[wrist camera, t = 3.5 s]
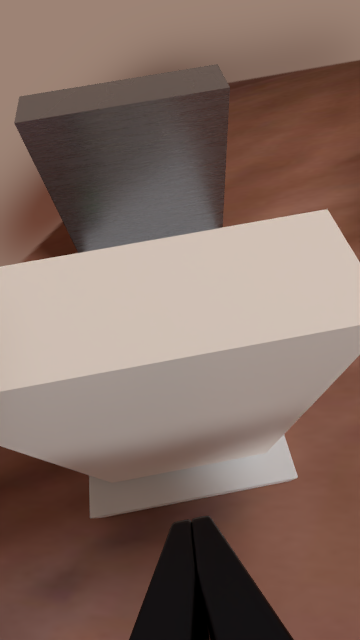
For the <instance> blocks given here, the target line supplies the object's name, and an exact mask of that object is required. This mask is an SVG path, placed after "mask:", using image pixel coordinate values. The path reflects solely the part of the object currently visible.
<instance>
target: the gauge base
mask: <svg viewBox="0 0 360 640" xmlns="http://www.w3.org/2000/svg"><path fill="white" fill-rule="evenodd" d="M296 478H298V476H297V473H296V470H295V467H294V464H293V461H292V458H291V455H290V452H289V448H288V445H287V442H286V439H285V436H284V435H283V436H282V437H281V438H280V439H279V440H278V441H277V442H276V443H275V444H274V445H273V446H272V447H271V448H270V449H269V451H268V452H267V453H264V454H259V455H254V456H249V457H244V458H239V459H233V460H228V461H223V462H218V463H213V464H207V465H202V466H197V467H192V468H187V469H182V470H176V471H171V472H166V473H161V474H156V475H151V476H145V477H140V478H135V479H130V480H125V481H119V482H114V483H111V482H108V481H105V480H102V479H98V478H95V477H92V476H89V502H90V518H103V517H108V516H114V515H119V514H124V513H129V512H134V511H139V510H144V509H149V508H154V507H160V506H165V505H170V504H175V503H180V502H185V501H190V500H195V499H200V498H206V497H211V496H216V495H221V494H226V493H231V492H236V491H241V490H246V489H252V488H257V487H262V486H267V485H272V484H277V483H282V482H287V481H291V480H293V479H296Z"/></svg>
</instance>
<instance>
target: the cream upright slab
mask: <svg viewBox="0 0 360 640" xmlns="http://www.w3.org/2000/svg"><path fill="white" fill-rule="evenodd" d="M359 355H360V262H359V261H358V259H357V257H356V256H355V254H354V252H353V251H352V249H351V247H350V246H349V244H348V242H347V241H346V239H345V238H344V236H343V234H342V233H341V231H340V229H339V228H338V226H337V224H336V223H335V221H334V219H333V218H332V216H331V215H330V213H329V211H328V210H327V209H326V210H320V211H315V212H309V213H303V214H297V215H292V216H286V217H280V218H275V219H269V220H263V221H258V222H252V223H246V224H241V225H235V226H229V227H223V228H218V229H212V230H206V231H201V232H195V233H189V234H184V235H178V236H172V237H167V238H161V239H155V240H149V241H144V242H138V243H132V244H127V245H121V246H115V247H110V248H104V249H98V250H93V251H87V252H81V253H75V254H70V255H64V256H58V257H53V258H47V259H41V260H36V261H30V262H24V263H19V264H13V265H7V266H2V267H0V446H1V447H4V448H7V449H10V450H13V451H17V452H20V453H23V454H26V455H29V456H32V457H35V458H38V459H41V460H44V461H47V462H50V463H53V464H56V465H59V466H62V467H65V468H68V469H71V470H74V471H77V472H80V473H83V474H86V475H89V476H92V477H95V478H98V479H102V480H105V481H108V482H111V483H114V482H119V481H125V480H130V479H135V478H140V477H145V476H151V475H156V474H161V473H166V472H171V471H176V470H182V469H187V468H192V467H197V466H202V465H207V464H213V463H218V462H223V461H228V460H233V459H239V458H244V457H249V456H254V455H259V454H264V453H267V452H268V451H269V449H270V448H271V447H272V446H273V445H274V444H275V443H276V442H277V441H278V440H279V439H280V438H281V437H282V436H283V435H284V434H285V433H286V432H287V431H288V430H289V428H290V427H291V426H292V425H293V424H294V423H295V422H296V421H297V420H298V419H299V418H300V417H301V416H302V415H303V414H304V413H305V412H306V411H307V410H308V409H309V407H310V406H311V405H312V404H313V403H314V402H315V401H316V400H317V399H318V398H319V397H320V396H321V395H322V394H323V393H324V392H325V391H326V390H327V389H328V388H329V386H330V385H331V384H332V383H333V382H334V381H335V380H336V379H337V378H338V377H339V376H340V375H341V374H342V373H343V372H344V371H345V370H346V369H347V368H348V367H349V365H350V364H351V363H352V362H353V361H354V360H355V359H356V358H357V357H358V356H359Z"/></svg>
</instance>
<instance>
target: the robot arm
mask: <svg viewBox="0 0 360 640" xmlns="http://www.w3.org/2000/svg"><path fill="white" fill-rule="evenodd" d="M209 635H210V636H209ZM129 640H294V639H293V638H292V636H291V635H290V634H289V632H288V631H287V629H286V628H285V626H284V625H283V623H282V622H281V620H280V619H279V617H278V616H277V614H276V613H275V611H274V610H273V608H272V607H271V606H270V604H269V603H268V601H267V600H266V598H265V597H264V595H263V594H262V592H261V591H260V589H259V588H258V586H257V585H256V583H255V582H254V580H253V579H252V578H251V576H250V575H249V573H248V572H247V570H246V569H245V567H244V566H243V564H242V563H241V561H240V560H239V558H238V557H237V555H236V554H235V553H234V551H233V550H232V548H231V547H230V545H229V544H228V542H227V541H226V539H225V538H224V536H223V535H222V533H221V532H220V530H219V529H218V527H217V526H216V525H215V523H214V522H213V520H212V519H211V518H210V517H209V516H203V517H198V518H194V519H192V523H191V521H190V520H183V521H177V522H174V523H173V524H172V526H171V528H170V531H169V534H168V536H167V539H166V542H165V544H164V547H163V550H162V552H161V555H160V558H159V560H158V563H157V566H156V569H155V571H154V574H153V577H152V579H151V582H150V585H149V587H148V590H147V593H146V595H145V598H144V601H143V604H142V606H141V609H140V612H139V614H138V617H137V620H136V622H135V625H134V628H133V630H132V633H131V636H130V639H129Z"/></svg>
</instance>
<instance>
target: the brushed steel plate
mask: <svg viewBox="0 0 360 640" xmlns="http://www.w3.org/2000/svg"><path fill="white" fill-rule="evenodd" d="M229 92H230V87H229V85H228V83H227V81H226V80H225V77H224V76H223V74H222V72H221V70H220V68H219V66H218V65H211V66H204V67H198V68H192V69H186V70H180V71H174V72H167V73H161V74H155V75H149V76H143V77H137V78H131V79H125V80H119V81H113V82H107V83H100V84H95V85H88V86H82V87H76V88H70V89H63V90H57V91H51V92H45V93H39V94H33V95H27V96H21V97H19V102H18V107H17V112H16V118H15V125H16V127H17V129H18V131H19V133H20V135H21V137H22V139H23V142H24V144H25V146H26V147H27V149H28V152H29V154H30V156H31V158H32V160H33V162H34V164H35V166H36V167H37V170H38V172H39V174H40V175H41V178H42V180H43V182H44V184H45V186H46V188H47V190H48V192H49V194H50V196H51V198H52V200H53V202H54V204H55V206H56V208H57V210H58V212H59V214H60V216H61V218H62V221H63V223H64V225H65V227H66V229H67V231H68V233H69V235H70V237H71V239H72V241H73V243H74V245H75V247H76V249H77V251H78V253H81V252H87V251H93V250H98V249H104V248H110V247H115V246H121V245H127V244H132V243H138V242H144V241H149V240H155V239H161V238H167V237H172V236H178V235H184V234H189V233H195V232H201V231H206V230H212V229H218V228H222V227H223V208H224V189H225V170H226V150H227V131H228V112H229Z"/></svg>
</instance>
